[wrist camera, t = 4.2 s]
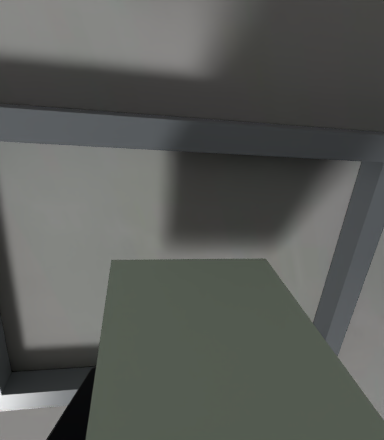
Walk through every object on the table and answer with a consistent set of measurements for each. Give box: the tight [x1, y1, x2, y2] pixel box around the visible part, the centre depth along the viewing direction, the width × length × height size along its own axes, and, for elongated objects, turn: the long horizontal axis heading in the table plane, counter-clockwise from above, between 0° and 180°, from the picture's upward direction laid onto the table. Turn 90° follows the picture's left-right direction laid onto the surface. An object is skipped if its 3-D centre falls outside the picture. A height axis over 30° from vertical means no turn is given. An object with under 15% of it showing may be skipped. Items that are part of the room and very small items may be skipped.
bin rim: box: [0, 104, 384, 411], centre depth 13 cm, size 17×13×1 cm
